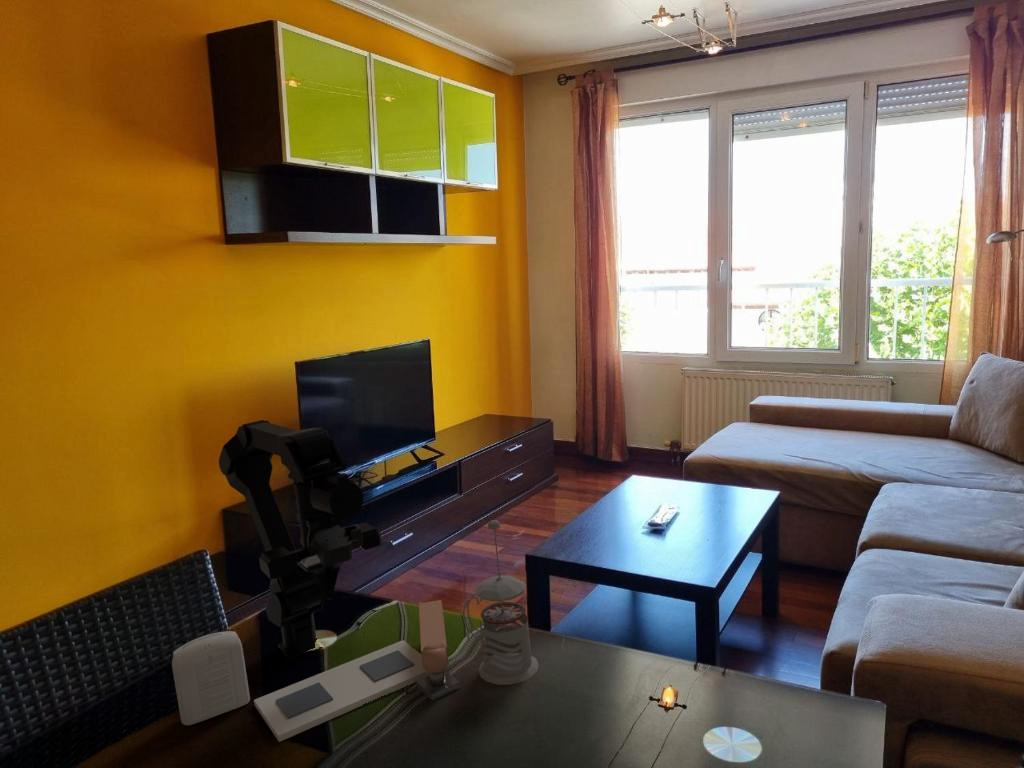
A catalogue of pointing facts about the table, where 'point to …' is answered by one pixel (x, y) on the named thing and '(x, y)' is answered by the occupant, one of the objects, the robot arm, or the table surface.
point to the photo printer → (210, 676)
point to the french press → (503, 629)
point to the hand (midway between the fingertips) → (329, 598)
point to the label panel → (340, 689)
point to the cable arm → (433, 637)
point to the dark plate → (438, 684)
